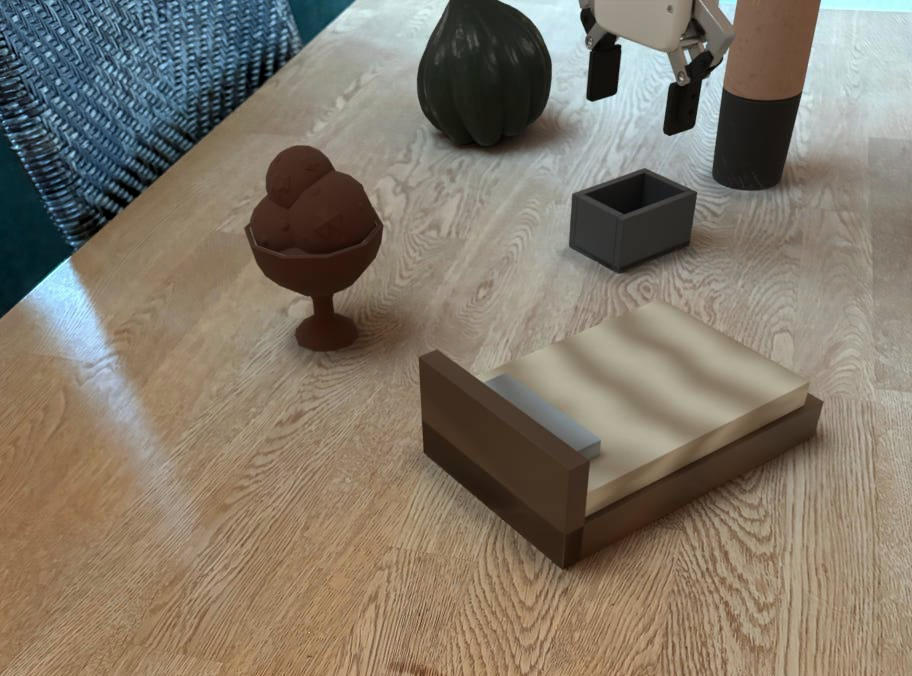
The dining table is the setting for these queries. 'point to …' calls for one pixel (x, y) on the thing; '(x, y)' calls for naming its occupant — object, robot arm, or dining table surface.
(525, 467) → the bed
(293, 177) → the ice cream bowl
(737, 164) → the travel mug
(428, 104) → the squash
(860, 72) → the dining table surface
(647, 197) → the basket
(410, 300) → the dining table surface
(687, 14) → the robot arm
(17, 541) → the dining table surface
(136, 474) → the dining table surface
